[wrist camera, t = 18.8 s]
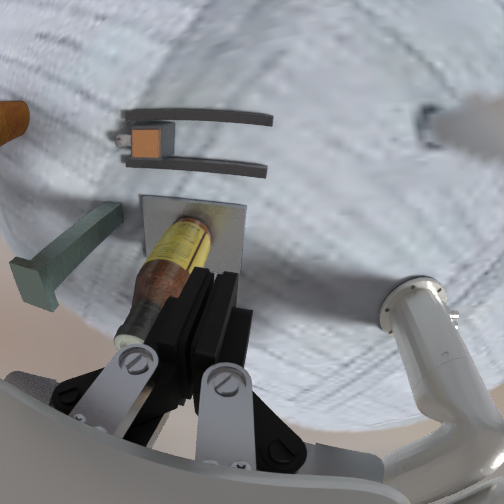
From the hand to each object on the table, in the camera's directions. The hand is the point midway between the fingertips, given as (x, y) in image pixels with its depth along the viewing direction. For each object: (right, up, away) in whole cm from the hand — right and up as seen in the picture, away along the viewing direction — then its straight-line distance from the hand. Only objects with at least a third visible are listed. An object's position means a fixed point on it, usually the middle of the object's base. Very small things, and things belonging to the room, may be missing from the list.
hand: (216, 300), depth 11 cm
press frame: (-9, +10, +25) cm, 28 cm away
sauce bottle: (-7, +4, +27) cm, 28 cm away
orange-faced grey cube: (-12, +16, +21) cm, 29 cm away
